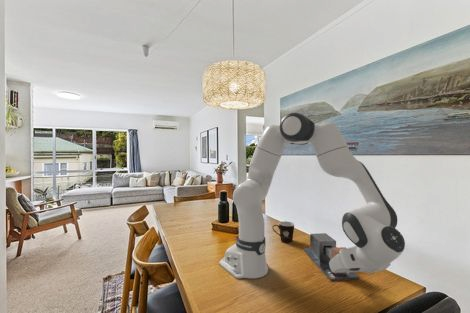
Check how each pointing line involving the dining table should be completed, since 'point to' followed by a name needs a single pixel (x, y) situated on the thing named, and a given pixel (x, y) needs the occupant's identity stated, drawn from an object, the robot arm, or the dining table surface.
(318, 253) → the housing
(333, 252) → the shaft
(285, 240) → the coffee mug
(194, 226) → the dining table surface
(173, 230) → the dining table surface
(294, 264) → the dining table surface
